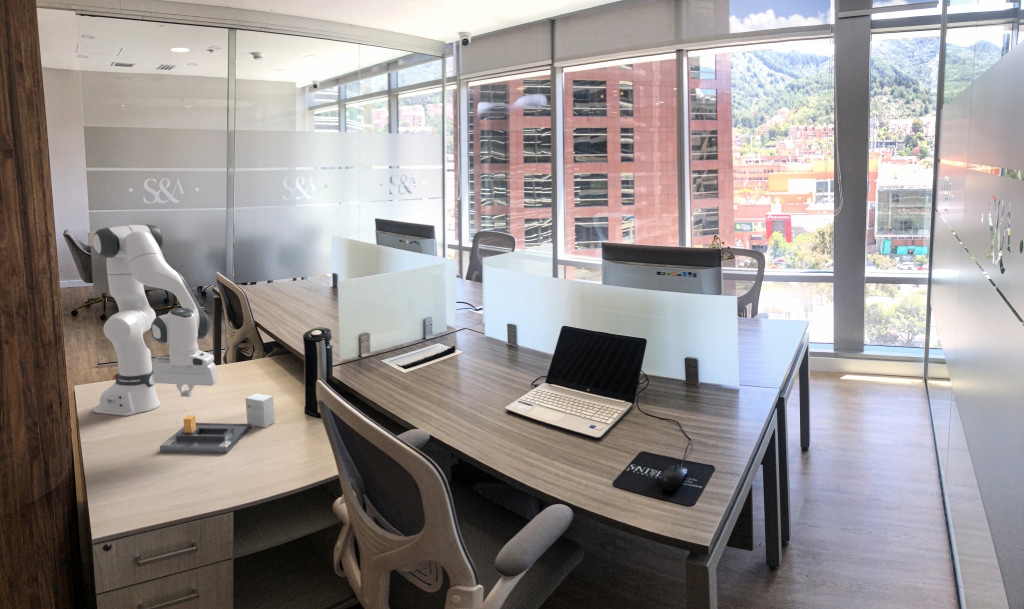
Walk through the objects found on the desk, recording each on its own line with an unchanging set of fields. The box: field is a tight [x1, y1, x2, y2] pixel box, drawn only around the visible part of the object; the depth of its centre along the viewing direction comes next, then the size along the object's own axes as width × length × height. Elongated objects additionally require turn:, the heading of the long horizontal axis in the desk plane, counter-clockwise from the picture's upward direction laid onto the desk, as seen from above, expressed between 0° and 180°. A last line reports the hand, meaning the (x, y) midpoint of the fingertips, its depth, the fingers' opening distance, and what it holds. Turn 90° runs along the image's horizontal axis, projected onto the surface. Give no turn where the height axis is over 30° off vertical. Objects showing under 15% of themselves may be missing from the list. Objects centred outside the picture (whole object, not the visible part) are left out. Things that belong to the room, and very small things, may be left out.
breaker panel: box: [159, 425, 249, 454], centre depth 223 cm, size 22×18×4 cm
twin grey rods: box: [196, 422, 253, 431], centre depth 235 cm, size 22×3×1 cm, turn 91°
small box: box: [245, 393, 276, 429], centre depth 239 cm, size 8×6×10 cm
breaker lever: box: [182, 414, 199, 434], centre depth 223 cm, size 4×4×6 cm
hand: (186, 396), depth 221 cm, fingers closed
